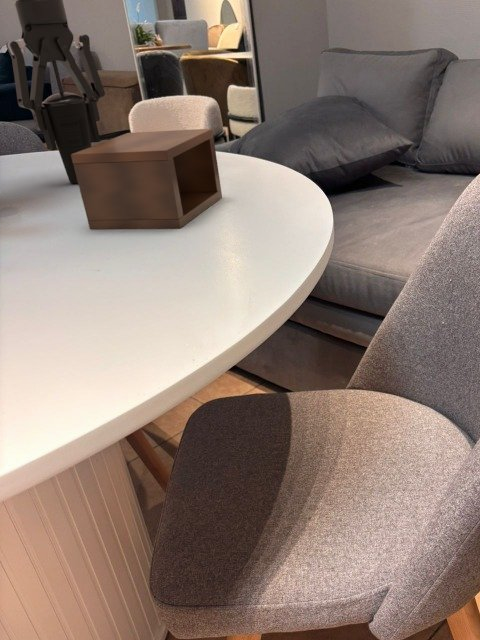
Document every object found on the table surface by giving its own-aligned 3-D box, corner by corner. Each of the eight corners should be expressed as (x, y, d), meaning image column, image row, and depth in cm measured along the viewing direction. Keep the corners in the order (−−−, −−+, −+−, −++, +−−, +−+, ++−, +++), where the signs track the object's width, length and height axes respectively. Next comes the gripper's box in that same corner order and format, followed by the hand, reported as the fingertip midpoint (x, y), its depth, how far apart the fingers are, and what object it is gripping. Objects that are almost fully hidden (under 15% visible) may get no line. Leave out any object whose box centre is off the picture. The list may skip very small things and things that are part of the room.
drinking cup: (102, 173, 123) (75, 56, 113) (105, 181, 117) (76, 57, 106) (61, 179, 121) (30, 60, 111) (61, 187, 115) (29, 62, 105)
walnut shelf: (89, 228, 90) (70, 154, 85) (141, 199, 103) (127, 132, 98) (180, 228, 86) (166, 150, 81) (222, 197, 99) (212, 128, 94)
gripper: (-20, -1, 96) (26, 157, 108) (105, -8, 107) (134, 137, 119) (-34, 2, 101) (11, 153, 113) (86, -5, 112) (116, 134, 124)
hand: (74, 145), depth 116 cm, fingers closed on drinking cup, 8 cm apart
